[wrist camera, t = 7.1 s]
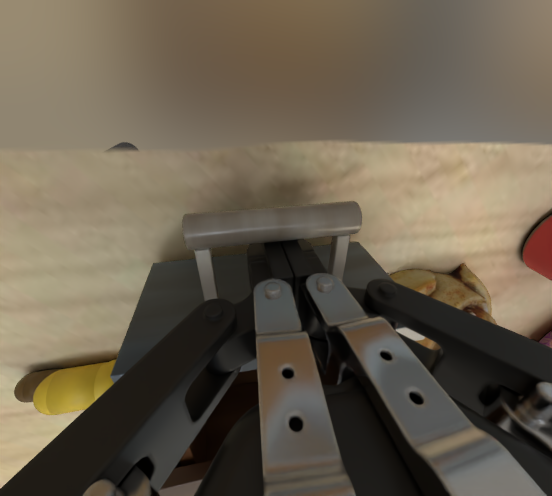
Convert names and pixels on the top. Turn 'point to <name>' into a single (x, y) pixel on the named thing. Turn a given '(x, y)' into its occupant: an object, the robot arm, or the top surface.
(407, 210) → the top surface
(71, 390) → the yellow brown rounded piece
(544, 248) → the beer can
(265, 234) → the drawer
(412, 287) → the pastry
